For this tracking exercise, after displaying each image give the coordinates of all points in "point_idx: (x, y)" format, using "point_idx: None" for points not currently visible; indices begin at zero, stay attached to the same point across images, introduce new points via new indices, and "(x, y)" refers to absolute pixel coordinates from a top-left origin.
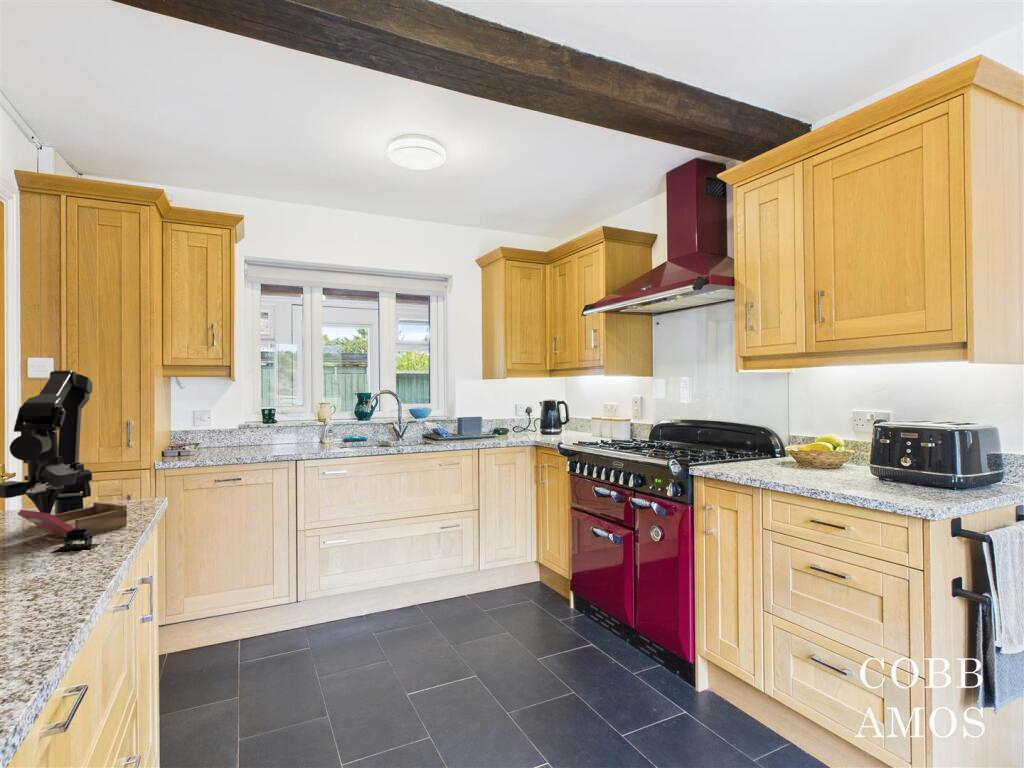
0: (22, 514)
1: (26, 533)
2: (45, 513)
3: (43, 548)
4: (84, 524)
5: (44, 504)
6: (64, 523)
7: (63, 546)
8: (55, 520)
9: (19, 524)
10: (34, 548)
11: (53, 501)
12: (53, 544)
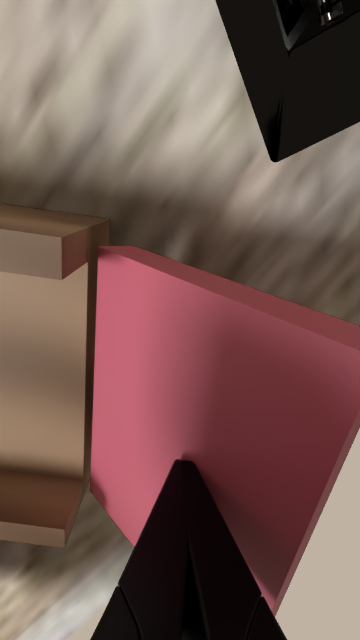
0: (276, 611)
1: (118, 530)
2: (353, 421)
3: (329, 234)
4: (26, 223)
5: (253, 618)
6: (178, 272)
7: (291, 123)
8: (268, 302)
9: (40, 626)
10: (331, 288)
11: (123, 627)
12: (245, 255)
